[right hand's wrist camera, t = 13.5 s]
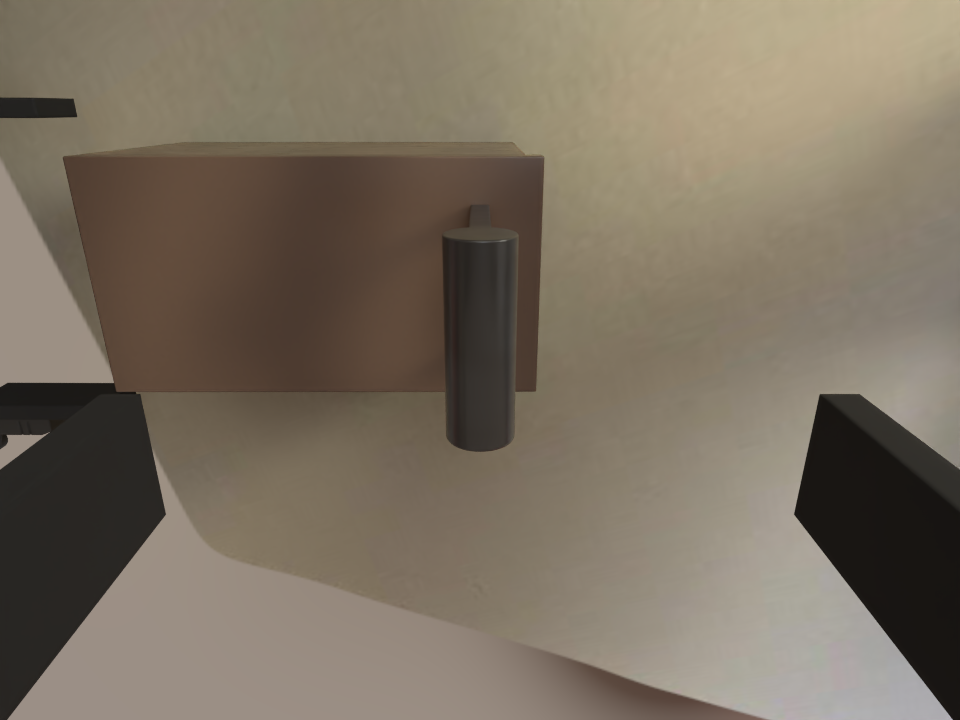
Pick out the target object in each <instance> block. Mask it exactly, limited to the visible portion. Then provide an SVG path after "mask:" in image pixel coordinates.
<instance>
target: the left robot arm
mask: <svg viewBox="0 0 960 720" xmlns="http://www.w3.org/2000/svg"><path fill="white" fill-rule="evenodd" d="M59 117H77V113H76V109H75V104H74V99H60V98H0V118H59ZM100 394H136V392H116V388H115V384H114V383H7V384H5V385H3V386H2V387H0V449H1V448H3V447H4V446H5V445H6V444H7V442H8V438H7V435H22V434H23V435H30V434H32V435H43V434H46V433H48V432H51V431H52V430H54V429H55V428H56V427H58V426H59V425H60V424H62V423H63V422H64V421H66V420H67V419H68V418H70V417H71V416H72V415H74V414H75V413H76V412H78V411H79V410H80V409H82V408H83V407H84V406H86V405H87V404H88V403H90V402H91V401H92V400H94V399H95V398H96V397H98V396H99V395H100Z"/></svg>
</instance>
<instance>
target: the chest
mask: <svg viewBox="0 0 960 720" xmlns="http://www.w3.org/2000/svg"><path fill="white" fill-rule="evenodd" d="M81 155H525V154H524V153H523V152H522V151H521V150H520V149H519V148H518V147H517V146H516V145H515V144H514V143H513V142H184V143H175V144H167V145H158V146H149V147H141V148H132V149H124V150H115V151H106V152H98V153H89V154H81Z"/></svg>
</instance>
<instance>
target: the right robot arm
mask: <svg viewBox="0 0 960 720" xmlns="http://www.w3.org/2000/svg"><path fill="white" fill-rule="evenodd" d="M165 515H166V513H165V508H164V504H163V499H162V494H161V490H160V485H159V480H158V475H157V471H156V466H155V461H154V457H153V452H152V447H151V443H150V438H149V433H148V428H147V424H146V419H145V414H144V410H143V405H142V400H141V396H140V394H100V395H99V396H98V397H96V398H95V399H94V400H92V401H91V402H90V403H88V404H87V405H86V406H84V407H83V408H82V409H80V410H79V411H78V412H76V413H75V414H74V415H72V416H71V417H70V418H68V419H67V420H66V421H64V422H63V423H62V424H60V425H59V426H58V427H56V428H55V429H54V430H52V431H51V432H50V433H48V434H47V435H46V436H44V437H43V438H42V439H40V440H39V441H38V442H36V443H35V444H34V445H33V446H31V447H30V448H29V449H27V450H26V451H25V452H23V453H22V454H21V455H19V456H18V457H17V458H15V459H14V460H13V461H11V462H10V463H9V464H7V465H6V466H5V467H3V468H2V469H1V470H0V720H7V719H8V718H9V716H10V715H11V714H12V713H13V711H14V710H15V709H16V707H17V706H18V705H19V704H20V702H21V701H22V700H23V698H24V697H25V696H26V695H27V693H28V692H29V691H30V689H31V688H32V687H33V685H34V684H35V683H36V682H37V680H38V679H39V678H40V676H41V675H42V674H43V673H44V671H45V670H46V669H47V667H48V666H49V665H50V664H51V662H52V661H53V660H54V658H55V657H56V656H57V654H58V653H59V652H60V651H61V649H62V648H63V647H64V645H65V644H66V643H67V642H68V640H69V639H70V638H71V636H72V635H73V634H74V633H75V631H76V630H77V629H78V627H79V626H80V625H81V623H82V622H83V621H84V620H85V618H86V617H87V616H88V614H89V613H90V612H91V611H92V609H93V608H94V607H95V605H96V604H97V603H98V602H99V600H100V599H101V598H102V596H103V595H104V594H105V592H106V591H107V590H108V589H109V587H110V586H111V585H112V583H113V582H114V581H115V580H116V578H117V577H118V576H119V574H120V573H121V572H122V570H123V569H124V568H125V567H126V565H127V564H128V563H129V561H130V560H131V559H132V558H133V556H134V555H135V554H136V552H137V551H138V550H139V548H140V547H141V546H142V545H143V543H144V542H145V541H146V539H147V538H148V537H149V536H150V534H151V533H152V532H153V530H154V529H155V528H156V526H157V525H158V524H159V523H160V521H161V520H162V519H163V518H164V516H165ZM794 515H795V516H796V518H797V519H798V520H799V521H800V523H801V524H802V525H803V527H804V528H805V529H806V530H807V532H808V533H809V534H810V536H811V537H812V538H813V539H814V541H815V542H816V543H817V545H818V546H819V547H820V549H821V550H822V551H823V552H824V554H825V555H826V556H827V558H828V559H829V560H830V561H831V563H832V564H833V565H834V567H835V568H836V569H837V570H838V572H839V573H840V574H841V576H842V577H843V578H844V580H845V581H846V582H847V583H848V585H849V586H850V587H851V589H852V590H853V591H854V592H855V594H856V595H857V596H858V598H859V599H860V600H861V602H862V603H863V604H864V605H865V607H866V608H867V609H868V611H869V612H870V613H871V614H872V616H873V617H874V618H875V620H876V621H877V622H878V623H879V625H880V626H881V627H882V629H883V630H884V631H885V633H886V634H887V635H888V636H889V638H890V639H891V640H892V642H893V643H894V644H895V645H896V647H897V648H898V649H899V651H900V652H901V653H902V654H903V656H904V657H905V658H906V660H907V661H908V662H909V664H910V665H911V666H912V667H913V669H914V670H915V671H916V673H917V674H918V675H919V676H920V678H921V679H922V680H923V682H924V683H925V684H926V686H927V687H928V688H929V689H930V691H931V692H932V693H933V695H934V696H935V697H936V698H937V700H938V701H939V702H940V704H941V705H942V706H943V707H944V709H945V710H946V711H947V713H948V714H949V715H950V717H951V718H952V719H953V720H960V470H959V469H958V468H957V467H955V466H954V465H953V464H951V463H950V462H949V461H947V460H946V459H945V458H943V457H942V456H941V455H939V454H938V453H937V452H936V451H934V450H933V449H932V448H930V447H929V446H928V445H926V444H925V443H924V442H922V441H921V440H920V439H918V438H917V437H916V436H914V435H913V434H912V433H910V432H909V431H908V430H906V429H905V428H904V427H902V426H901V425H900V424H898V423H897V422H896V421H894V420H893V419H892V418H890V417H889V416H888V415H886V414H885V413H884V412H882V411H881V410H880V409H878V408H877V407H876V406H874V405H873V404H872V403H870V402H869V401H868V400H866V399H865V398H864V397H862V396H861V395H860V394H820V396H819V400H818V405H817V410H816V414H815V419H814V424H813V428H812V433H811V438H810V443H809V447H808V452H807V457H806V461H805V466H804V471H803V475H802V480H801V485H800V489H799V494H798V499H797V504H796V508H795V513H794Z"/></svg>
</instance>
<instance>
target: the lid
mask: <svg viewBox="0 0 960 720" xmlns="http://www.w3.org/2000/svg"><path fill="white" fill-rule="evenodd" d="M63 160H64V165H65V169H66V174H67V178H68V182H69V187H70V191H71V195H72V200H73V204H74V209H75V213H76V217H77V222H78V226H79V231H80V235H81V239H82V244H83V248H84V252H85V257H86V261H87V266H88V270H89V274H90V279H91V283H92V288H93V292H94V296H95V301H96V305H97V309H98V314H99V318H100V323H101V327H102V331H103V336H104V340H105V345H106V349H107V353H108V358H109V362H110V367H111V371H112V375H113V380H114V384H115V388H116V392H445V396H446V436H447V439H448V440H449V442H450V443H451V444H453V445H454V446H456V447H458V448H461V449H464V450H468V451H476V452H484V451H492V450H497V449H500V448H503V447H505V446H507V445H508V444H509V443H510V442H511V441H512V440H513V438H514V422H515V392H535V391H536V378H537V349H538V320H539V292H540V263H541V235H542V206H543V178H544V157H543V156H542V155H71V156H64V157H63Z"/></svg>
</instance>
